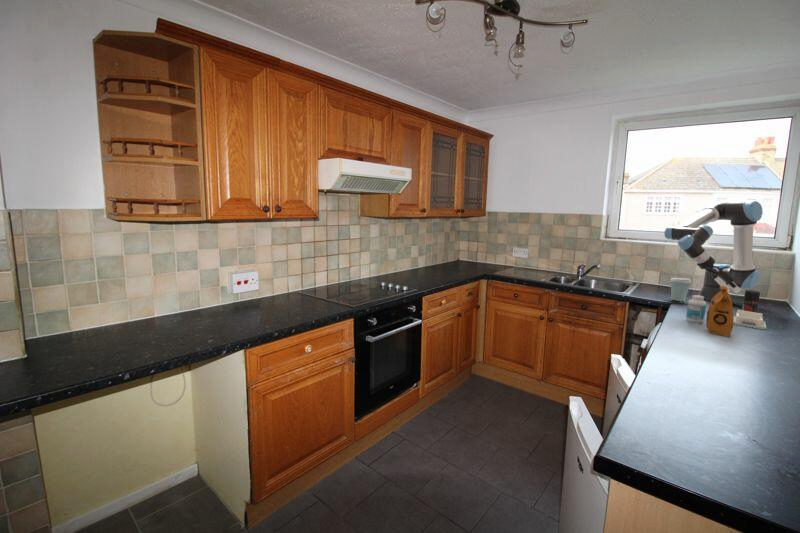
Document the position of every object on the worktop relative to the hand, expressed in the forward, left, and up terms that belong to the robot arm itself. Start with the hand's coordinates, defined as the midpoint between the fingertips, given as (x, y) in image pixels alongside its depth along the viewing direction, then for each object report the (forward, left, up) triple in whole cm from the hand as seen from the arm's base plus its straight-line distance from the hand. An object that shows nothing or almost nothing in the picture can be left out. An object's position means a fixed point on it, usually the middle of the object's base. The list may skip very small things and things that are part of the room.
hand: (731, 289), depth 208 cm
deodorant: (-4, +8, -16) cm, 18 cm away
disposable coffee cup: (-22, -25, -16) cm, 37 cm away
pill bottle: (+25, -13, -16) cm, 32 cm away
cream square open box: (+10, +8, -15) cm, 20 cm away
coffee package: (+40, -3, -16) cm, 43 cm away
